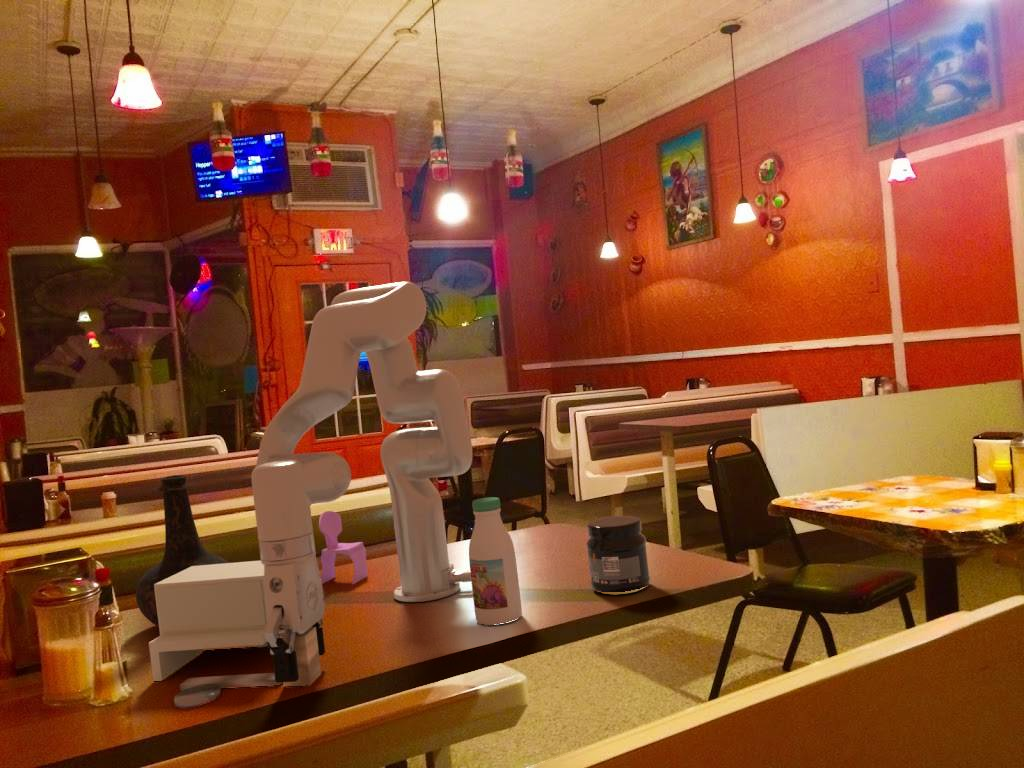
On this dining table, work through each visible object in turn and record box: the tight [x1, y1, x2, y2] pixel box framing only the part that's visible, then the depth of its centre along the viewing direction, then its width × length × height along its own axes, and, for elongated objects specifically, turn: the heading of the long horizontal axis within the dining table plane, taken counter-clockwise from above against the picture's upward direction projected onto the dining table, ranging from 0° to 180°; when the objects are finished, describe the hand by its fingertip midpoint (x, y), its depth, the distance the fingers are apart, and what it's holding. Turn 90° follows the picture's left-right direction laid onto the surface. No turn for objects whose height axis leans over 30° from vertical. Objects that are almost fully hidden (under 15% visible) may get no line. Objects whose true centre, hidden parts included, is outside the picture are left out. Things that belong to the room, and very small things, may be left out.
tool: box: [179, 627, 322, 692], centre depth 115 cm, size 20×4×7 cm, turn 82°
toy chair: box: [318, 510, 369, 585], centre depth 171 cm, size 8×9×15 cm
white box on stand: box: [148, 559, 290, 682], centre depth 126 cm, size 18×14×14 cm
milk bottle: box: [468, 496, 523, 626], centre depth 132 cm, size 8×8×20 cm
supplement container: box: [585, 515, 651, 592], centre depth 142 cm, size 10×10×12 cm
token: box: [173, 684, 222, 709], centre depth 112 cm, size 6×6×1 cm
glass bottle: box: [135, 474, 230, 628], centre depth 152 cm, size 18×18×28 cm
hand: (301, 667), depth 114 cm, fingers open, 9 cm apart
